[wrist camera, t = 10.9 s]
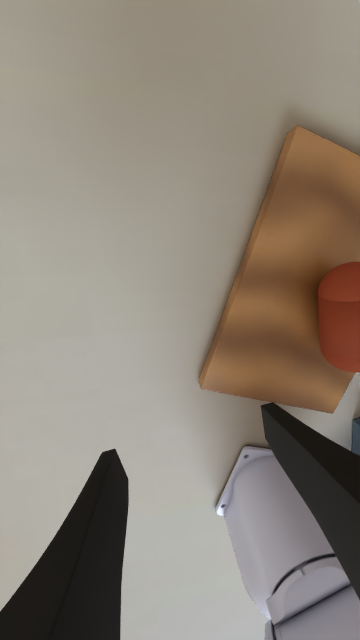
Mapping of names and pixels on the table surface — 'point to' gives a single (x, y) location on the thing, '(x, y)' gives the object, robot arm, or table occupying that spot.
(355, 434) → the low basket
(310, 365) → the oak board
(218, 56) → the table surface
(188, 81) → the table surface
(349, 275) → the sweet potato
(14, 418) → the table surface
